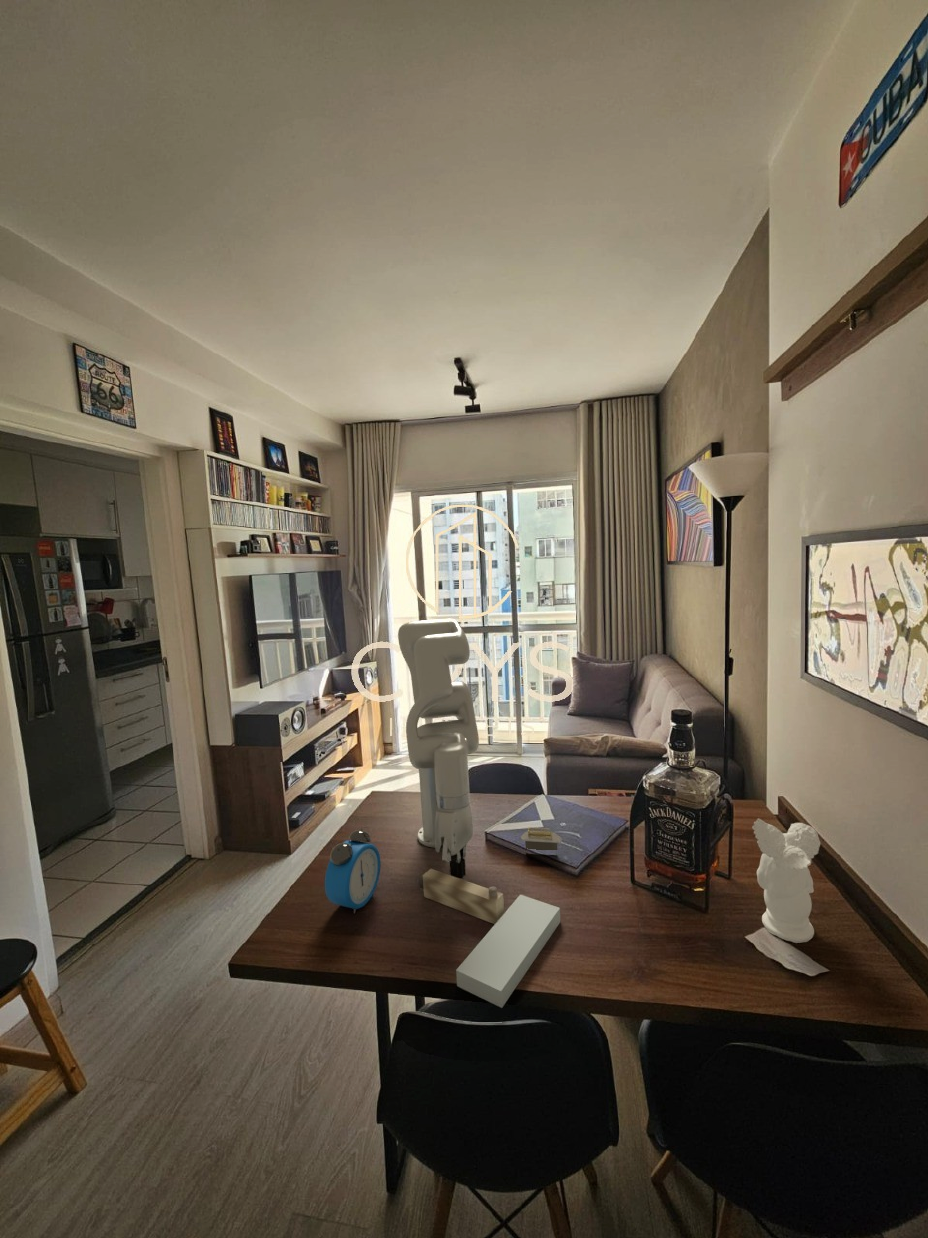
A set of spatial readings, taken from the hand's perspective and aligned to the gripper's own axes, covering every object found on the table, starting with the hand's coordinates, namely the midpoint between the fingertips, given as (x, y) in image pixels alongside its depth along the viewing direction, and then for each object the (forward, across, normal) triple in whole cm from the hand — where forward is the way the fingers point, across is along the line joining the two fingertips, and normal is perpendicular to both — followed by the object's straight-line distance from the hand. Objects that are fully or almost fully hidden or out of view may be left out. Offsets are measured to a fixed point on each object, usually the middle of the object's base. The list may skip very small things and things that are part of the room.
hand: (458, 875), depth 119 cm
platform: (+3, -20, +13) cm, 24 cm away
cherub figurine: (+3, -12, +65) cm, 66 cm away
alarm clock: (+3, +14, -19) cm, 23 cm away
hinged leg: (+2, +6, +4) cm, 8 cm away
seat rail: (+3, +14, +19) cm, 24 cm away
